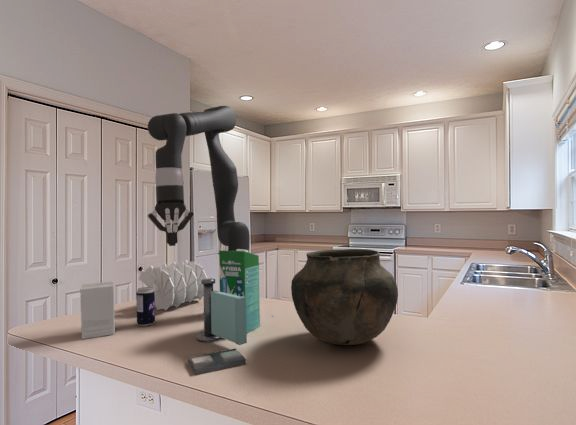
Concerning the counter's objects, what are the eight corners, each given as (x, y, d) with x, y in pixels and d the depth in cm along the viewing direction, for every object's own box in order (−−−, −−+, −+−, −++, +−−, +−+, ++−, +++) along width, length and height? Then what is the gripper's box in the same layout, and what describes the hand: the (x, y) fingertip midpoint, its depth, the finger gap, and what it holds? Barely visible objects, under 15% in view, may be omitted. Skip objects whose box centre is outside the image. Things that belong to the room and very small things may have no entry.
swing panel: (210, 334, 104) (209, 291, 104) (217, 331, 105) (216, 290, 106) (239, 345, 94) (238, 298, 94) (246, 342, 96) (245, 297, 96)
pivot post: (217, 332, 111) (216, 276, 111) (224, 339, 105) (223, 280, 105) (194, 336, 108) (193, 279, 108) (199, 343, 102) (198, 282, 102)
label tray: (235, 353, 94) (235, 346, 94) (246, 364, 87) (245, 357, 87) (188, 362, 89) (188, 355, 89) (195, 374, 82) (195, 367, 82)
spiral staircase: (205, 309, 155) (159, 322, 133) (178, 288, 163) (130, 297, 141) (220, 271, 153) (176, 277, 131) (192, 252, 161) (146, 255, 139)
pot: (273, 357, 91) (271, 257, 91) (309, 321, 121) (308, 246, 121) (394, 372, 81) (392, 260, 81) (401, 329, 111) (400, 247, 111)
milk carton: (260, 326, 117) (258, 248, 117) (245, 334, 109) (243, 250, 109) (236, 323, 121) (234, 247, 121) (220, 331, 113) (218, 250, 113)
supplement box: (114, 326, 119) (113, 281, 119) (114, 334, 111) (114, 285, 111) (82, 331, 115) (81, 283, 115) (80, 339, 107) (79, 288, 107)
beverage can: (151, 327, 118) (150, 289, 118) (133, 327, 118) (133, 290, 118) (157, 321, 124) (157, 286, 124) (141, 322, 124) (140, 286, 124)
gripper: (189, 185, 110) (192, 243, 110) (143, 185, 104) (145, 246, 104) (196, 183, 104) (198, 244, 104) (146, 183, 97) (149, 248, 98)
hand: (172, 245), depth 104 cm, fingers closed
